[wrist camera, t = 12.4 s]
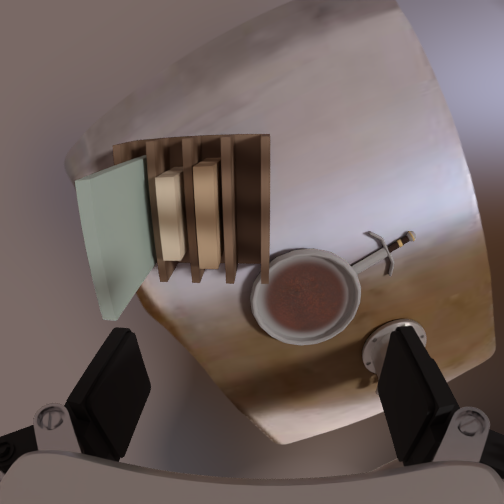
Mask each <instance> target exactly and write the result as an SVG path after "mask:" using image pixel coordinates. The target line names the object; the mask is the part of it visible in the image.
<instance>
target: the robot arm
mask: <svg viewBox="0 0 504 504" xmlns="http://www.w3.org/2000/svg"><path fill="white" fill-rule="evenodd" d="M425 345H426V333H425V331H424V329H423V328H422V326H421V325H420V324H419V323H417V322H416V321H413V320H409V319H399V320H394V321H391V322H388V323H386V324H384V325H383V326H381V327H380V328H378V329H377V330H375V331H374V332H373V333H372V334H371V335H370V337H369V338H368V339H367V341H366V342H365V344H364V347H363V349H362V359H363V362H364V365H365V367H366V368H367V369H368V370H369V371H371V372H373V373H375V374H377V377H378V386H377V389H376V394H377V395H379V397H380V400H381V403H382V407H383V410H384V413H385V416H386V420H387V423H388V427H389V430H390V433H391V437H392V440H393V444H394V448H395V451H396V455H397V459H396V460H393V461H391V462H389V463H387V464H385V465H383V466H381V467H379V468H376V469H374V470H372V471H370V472H367V473H360V474H351V475H342V476H332V477H319V478H300V479H243V478H226V477H213V476H202V475H193V474H185V473H177V472H170V471H163V470H158V469H152V468H146V467H141V466H136V465H130V464H126V463H121V462H119V460H120V457H121V458H123V457H124V456H125V454H126V451H127V448H128V446H129V443H130V441H131V438H132V436H133V433H134V430H135V428H136V425H137V423H138V420H139V418H140V415H141V413H142V410H143V408H144V406H145V403H146V401H147V398H148V396H149V393H150V390H151V384H150V381H149V377H148V374H147V371H146V368H145V365H144V362H143V359H142V355H141V352H140V349H139V345H138V342H137V339H136V335H135V333H133V332H131V330H130V329H129V328H114V329H113V330H112V332H111V333H110V334H109V336H108V337H107V339H106V340H105V342H104V343H103V345H102V346H101V348H100V349H99V351H98V352H97V354H96V355H95V357H94V358H93V360H92V362H91V363H90V364H89V366H88V368H87V369H86V370H85V372H84V374H83V375H82V377H81V378H80V380H79V381H78V383H77V385H76V386H75V388H74V389H73V391H72V393H71V394H70V396H69V397H68V399H67V402H66V403H65V405H64V406H63V405H61V404H58V403H51V404H47V405H45V406H43V407H41V408H40V409H39V410H38V411H37V412H36V414H35V416H34V418H33V424H34V425H31V426H29V427H26V428H23V429H21V430H18V431H16V432H12V433H10V434H7V435H4V436H1V437H0V504H504V435H502V434H499V433H497V432H495V431H492V430H490V429H489V428H490V423H489V419H488V417H487V416H486V414H485V413H484V412H482V411H481V410H479V409H477V408H474V407H463V408H461V409H460V407H459V405H458V403H457V402H456V399H455V398H454V396H453V394H452V392H451V390H450V388H449V386H448V384H447V382H446V380H445V378H444V377H443V375H442V373H441V371H440V369H439V367H438V366H437V364H436V362H435V361H434V359H432V358H431V357H430V356H429V354H428V352H427V350H426V349H425Z"/></svg>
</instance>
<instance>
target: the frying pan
mask: <svg viewBox="0 0 504 504" xmlns="http://www.w3.org/2000/svg"><path fill="white" fill-rule="evenodd" d="M368 232H369V234H370V235H372V236H374V237H375V238H377V239H379V240H380V241H381V243H382V245H383V248H382V249H380V250H378V251H377V252H375V253H373V254H372V255H370V256H368V257H367V258H365V259H363V260H362V261H360V262H358V263H356V264H355V265H353V266H350V265H349V263H348V262H347V261H346V260H344V259H342V258H341V257H339V256H337V255H336V254H334V253H332V252H328V251H324V250H319V249H314V248H312V249H301V250H294V251H291V252H289V253H286V254H284V255H281V256H278V257H276V258H275V259H274V260H273V261H271V262H270V263H269V284H261V272H260V273H259V275H258V277H257V278H256V280H255V281H254V283H253V287H252V291H251V296H250V302H251V309H252V314H253V315H254V317H255V319H256V321H257V323H258V324H259V326H260V327H261V328H262V329H264V330H265V331H266V332H267V333H268V334H269V335H270V336H272V337H273V338H276V339H278V340H280V341H282V342H284V343H289V344H295V345H309V344H317V343H320V342H323V341H325V340H328V339H331V338H332V337H334V336H335V335H337V334H338V333H340V332H341V331H343V330H344V329H345V328H346V326H347V325H348V324H349V323H350V322H351V320H352V319H353V318H354V316H355V313H356V311H357V309H358V306H359V304H360V296H361V286H360V283H359V280H358V277H357V274H359V273H360V272H362V271H364V270H365V269H367V268H369V267H371V266H372V265H374V264H376V263H377V262H379V261H381V260H382V259H384V258H386V257H387V256H388V257H389V259H390V262H391V264H390V269H389V273H388V274H389V276H390V277H391V275H392V271H393V267H394V260H393V258H392V256H391V254H390V253H391V252H392V251H394V250H396V249H397V248H399V247H402V246H403V245H404V244H405V243H407V242H409V241H414V240H415V238H416V234H415V233H414V232H413V231H408V233H407V235H406V236H405V237H403V238H402V239H399V240H397V242H395V243H393V244H392V245H390V246H389V247H387V245H386V243H385V241H384V239H383V238H382V237H380V236H378V235H377V234H375V233H373V232H371V231H368Z"/></svg>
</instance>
